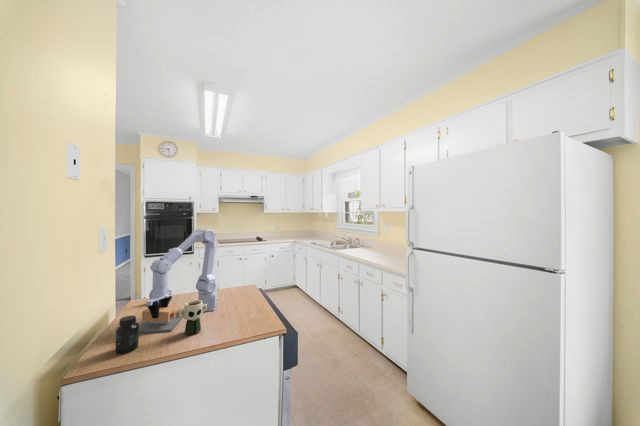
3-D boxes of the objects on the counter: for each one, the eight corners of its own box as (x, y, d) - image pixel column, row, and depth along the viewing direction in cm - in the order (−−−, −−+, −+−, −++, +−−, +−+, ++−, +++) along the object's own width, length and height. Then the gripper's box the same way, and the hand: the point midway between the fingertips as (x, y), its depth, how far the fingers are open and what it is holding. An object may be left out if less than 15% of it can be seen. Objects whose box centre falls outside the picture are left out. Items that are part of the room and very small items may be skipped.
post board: (181, 319, 113) (182, 312, 113) (171, 331, 102) (171, 323, 102) (147, 321, 111) (148, 314, 111) (132, 334, 99) (132, 326, 99)
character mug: (180, 339, 95) (181, 308, 95) (177, 333, 101) (177, 303, 101) (208, 331, 103) (209, 302, 103) (203, 325, 108) (204, 297, 108)
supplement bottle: (110, 352, 86) (111, 320, 86) (131, 342, 92) (132, 313, 92) (122, 356, 83) (123, 323, 84) (142, 346, 90) (143, 316, 90)
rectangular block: (141, 321, 104) (142, 311, 104) (150, 316, 109) (150, 307, 109) (168, 322, 104) (168, 312, 104) (175, 317, 109) (175, 307, 109)
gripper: (158, 291, 99) (157, 322, 99) (178, 281, 114) (177, 308, 113) (141, 291, 99) (140, 322, 99) (163, 281, 113) (162, 308, 113)
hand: (159, 315), depth 106 cm, fingers closed on rectangular block, 5 cm apart
